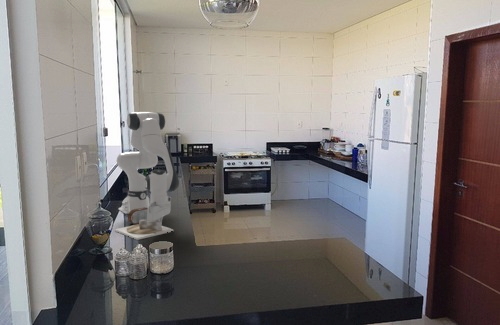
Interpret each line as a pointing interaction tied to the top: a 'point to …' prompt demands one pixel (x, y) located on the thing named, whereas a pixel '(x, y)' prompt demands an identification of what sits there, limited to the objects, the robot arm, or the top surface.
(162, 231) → the white flat square board
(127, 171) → the robot arm
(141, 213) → the bread slice
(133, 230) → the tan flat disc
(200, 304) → the top surface
